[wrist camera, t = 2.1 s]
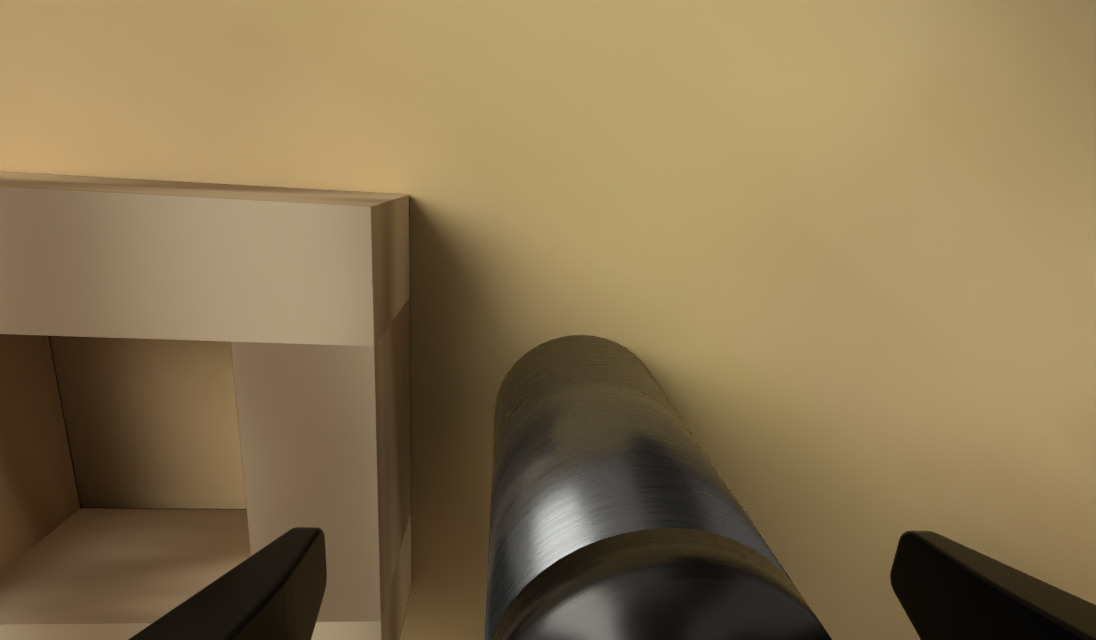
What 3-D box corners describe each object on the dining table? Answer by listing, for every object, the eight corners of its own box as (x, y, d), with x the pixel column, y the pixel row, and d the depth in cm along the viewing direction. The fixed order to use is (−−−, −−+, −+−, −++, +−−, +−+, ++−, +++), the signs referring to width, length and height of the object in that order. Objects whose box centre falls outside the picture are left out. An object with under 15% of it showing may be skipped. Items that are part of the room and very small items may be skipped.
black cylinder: (666, 338, 13) (889, 578, 6) (649, 487, 14) (814, 861, 7) (497, 332, 13) (485, 580, 5) (492, 485, 14) (475, 877, 6)
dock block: (408, 194, 12) (370, 207, 9) (411, 586, 15) (382, 713, 11) (-105, 166, 11) (-372, 166, 8) (-3, 587, 14) (-169, 725, 10)
